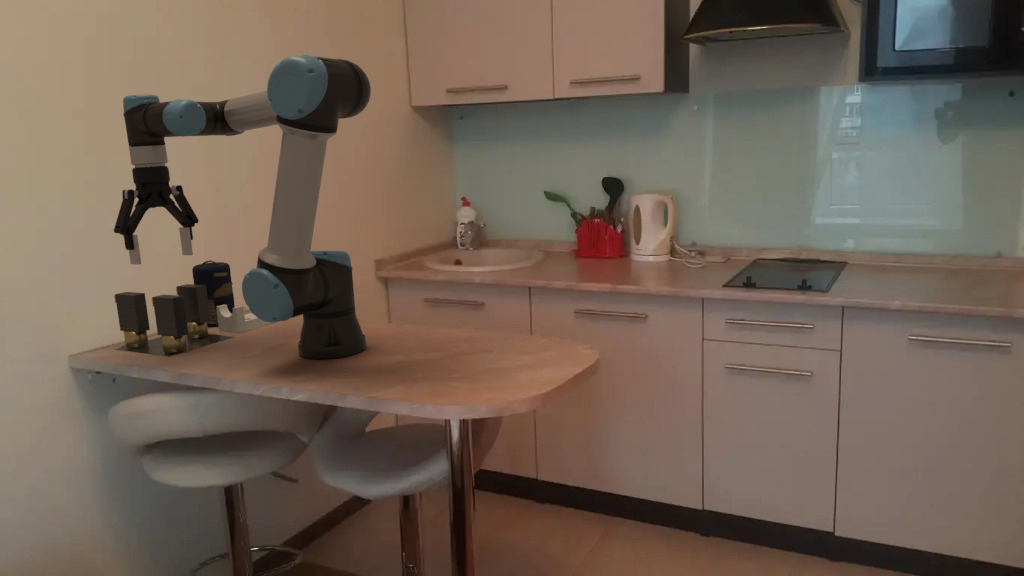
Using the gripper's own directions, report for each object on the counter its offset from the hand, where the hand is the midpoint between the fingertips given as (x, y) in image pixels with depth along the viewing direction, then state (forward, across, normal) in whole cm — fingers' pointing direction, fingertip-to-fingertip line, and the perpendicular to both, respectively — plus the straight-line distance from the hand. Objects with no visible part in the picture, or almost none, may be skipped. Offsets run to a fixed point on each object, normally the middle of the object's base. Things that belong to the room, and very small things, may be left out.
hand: (162, 259), depth 181 cm
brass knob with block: (+22, 0, -14) cm, 26 cm away
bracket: (+23, -25, -3) cm, 34 cm away
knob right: (+22, -12, -7) cm, 26 cm away
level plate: (+22, -6, -7) cm, 24 cm away
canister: (+23, -25, -15) cm, 37 cm away
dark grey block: (+22, 0, 0) cm, 22 cm away
